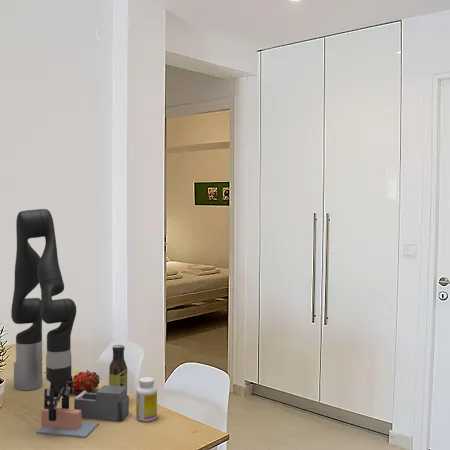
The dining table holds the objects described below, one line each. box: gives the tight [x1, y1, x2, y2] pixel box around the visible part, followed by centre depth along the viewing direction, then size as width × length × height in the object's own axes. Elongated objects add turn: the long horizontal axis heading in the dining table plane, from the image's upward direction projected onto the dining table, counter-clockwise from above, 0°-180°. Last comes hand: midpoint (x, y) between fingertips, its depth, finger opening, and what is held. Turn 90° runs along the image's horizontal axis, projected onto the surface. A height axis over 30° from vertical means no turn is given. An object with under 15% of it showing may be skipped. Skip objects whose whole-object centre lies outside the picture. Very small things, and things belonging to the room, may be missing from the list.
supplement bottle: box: [135, 376, 158, 423], centre depth 185 cm, size 7×7×13 cm
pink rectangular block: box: [40, 407, 83, 430], centre depth 176 cm, size 12×3×5 cm, turn 80°
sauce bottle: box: [108, 344, 128, 388], centre depth 198 cm, size 6×6×20 cm
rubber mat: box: [35, 420, 100, 439], centre depth 176 cm, size 16×10×1 cm, turn 80°
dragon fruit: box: [68, 369, 101, 394], centre depth 207 cm, size 8×8×12 cm
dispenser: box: [73, 384, 130, 423], centre depth 186 cm, size 16×7×9 cm, turn 80°
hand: (59, 415), depth 176 cm, fingers open, 8 cm apart
